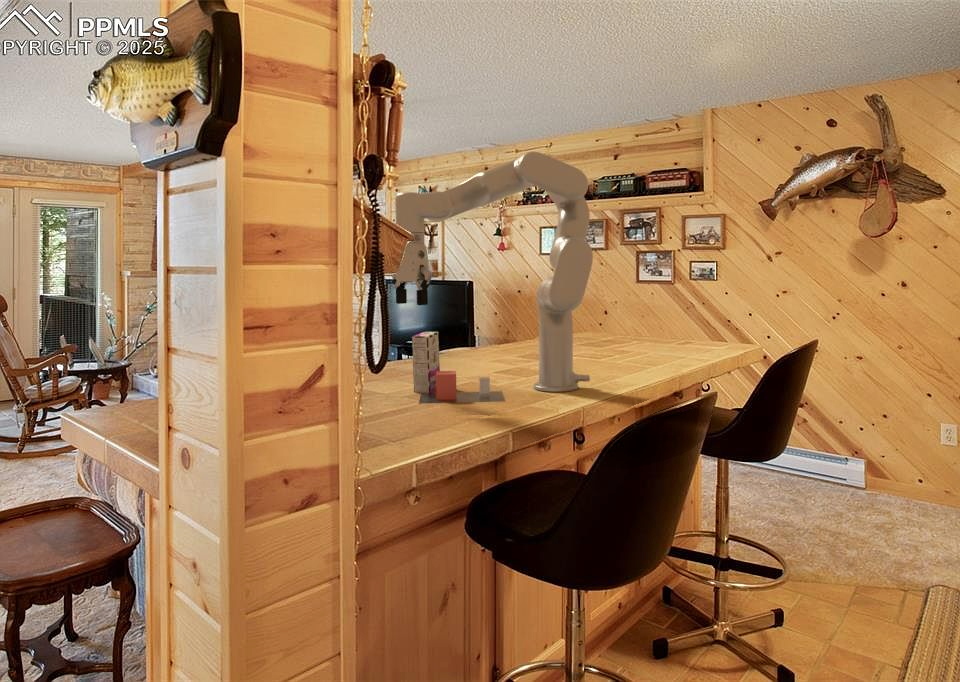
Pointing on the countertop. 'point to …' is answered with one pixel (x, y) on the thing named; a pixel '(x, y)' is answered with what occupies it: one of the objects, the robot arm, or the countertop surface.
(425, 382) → the candy bar box
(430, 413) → the countertop surface
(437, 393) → the red block
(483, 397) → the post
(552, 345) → the robot arm
